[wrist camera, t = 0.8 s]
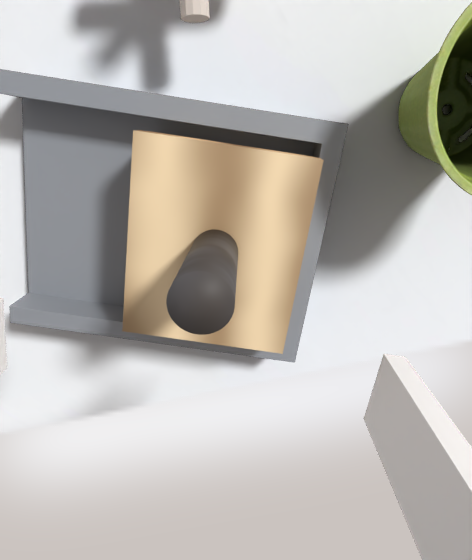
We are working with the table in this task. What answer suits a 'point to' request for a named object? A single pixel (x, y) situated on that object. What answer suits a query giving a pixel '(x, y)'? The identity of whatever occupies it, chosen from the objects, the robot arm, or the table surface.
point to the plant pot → (434, 96)
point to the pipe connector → (194, 10)
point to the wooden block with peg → (215, 240)
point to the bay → (116, 192)
